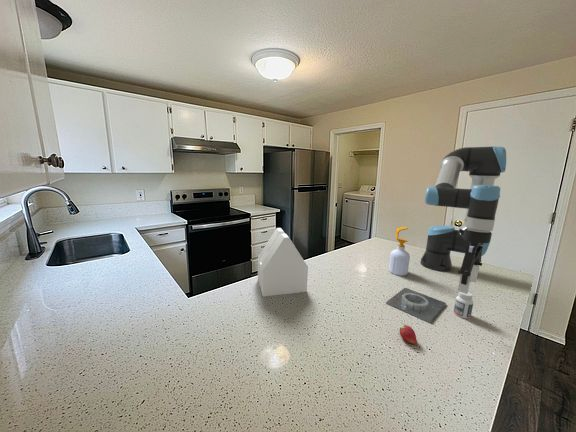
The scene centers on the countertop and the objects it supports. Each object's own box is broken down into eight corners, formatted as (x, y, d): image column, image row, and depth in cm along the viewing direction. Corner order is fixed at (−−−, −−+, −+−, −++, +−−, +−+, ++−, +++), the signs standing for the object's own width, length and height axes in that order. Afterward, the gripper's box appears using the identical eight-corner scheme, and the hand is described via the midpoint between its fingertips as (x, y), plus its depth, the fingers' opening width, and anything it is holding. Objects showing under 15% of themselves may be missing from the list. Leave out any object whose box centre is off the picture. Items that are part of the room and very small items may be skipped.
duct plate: (404, 289, 106) (405, 283, 105) (445, 304, 94) (446, 297, 94) (386, 303, 94) (387, 296, 94) (430, 323, 83) (431, 315, 82)
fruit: (411, 348, 70) (413, 334, 69) (394, 335, 76) (396, 322, 75) (420, 344, 72) (423, 330, 71) (404, 332, 78) (406, 319, 77)
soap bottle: (409, 276, 119) (416, 229, 114) (390, 274, 120) (396, 228, 116) (404, 269, 127) (410, 225, 122) (387, 267, 129) (392, 224, 124)
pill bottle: (467, 312, 90) (471, 291, 88) (473, 320, 85) (477, 298, 83) (451, 309, 91) (455, 288, 90) (455, 317, 86) (460, 295, 85)
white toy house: (262, 296, 97) (263, 238, 92) (257, 279, 111) (257, 228, 107) (306, 291, 102) (309, 236, 97) (296, 276, 116) (298, 227, 111)
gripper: (472, 223, 93) (463, 273, 97) (455, 232, 76) (445, 293, 80) (497, 227, 87) (486, 280, 91) (485, 238, 71) (472, 302, 75)
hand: (467, 286), depth 86 cm, fingers open, 13 cm apart
